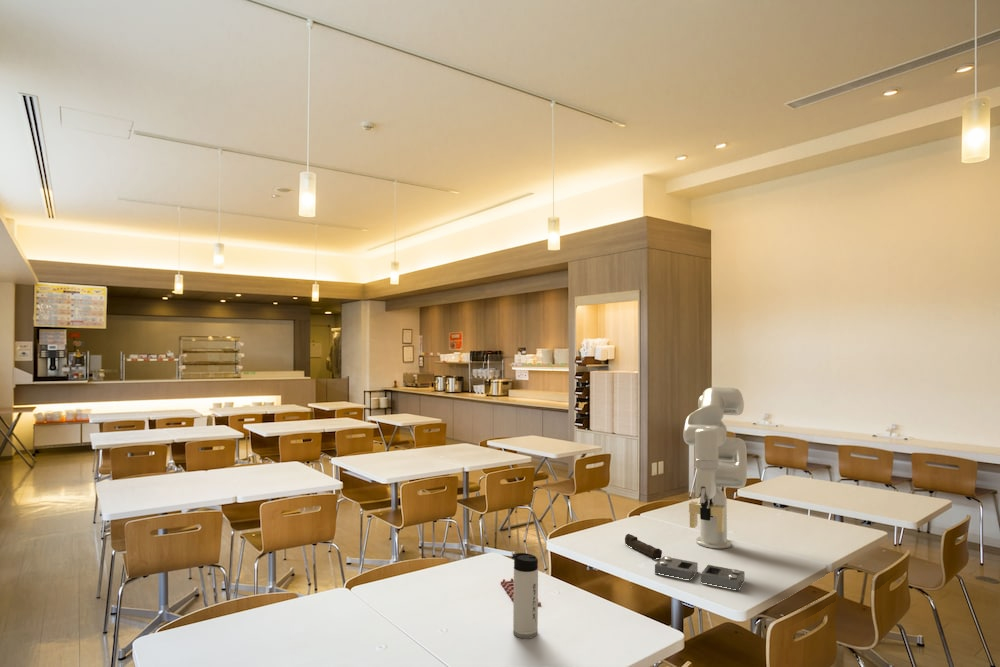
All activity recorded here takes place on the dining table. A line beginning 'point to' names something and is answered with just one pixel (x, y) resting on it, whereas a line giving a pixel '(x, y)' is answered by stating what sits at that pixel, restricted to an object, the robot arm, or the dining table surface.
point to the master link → (714, 511)
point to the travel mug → (525, 596)
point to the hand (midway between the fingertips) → (706, 517)
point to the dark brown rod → (642, 546)
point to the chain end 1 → (676, 567)
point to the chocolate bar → (510, 589)
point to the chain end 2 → (723, 577)
